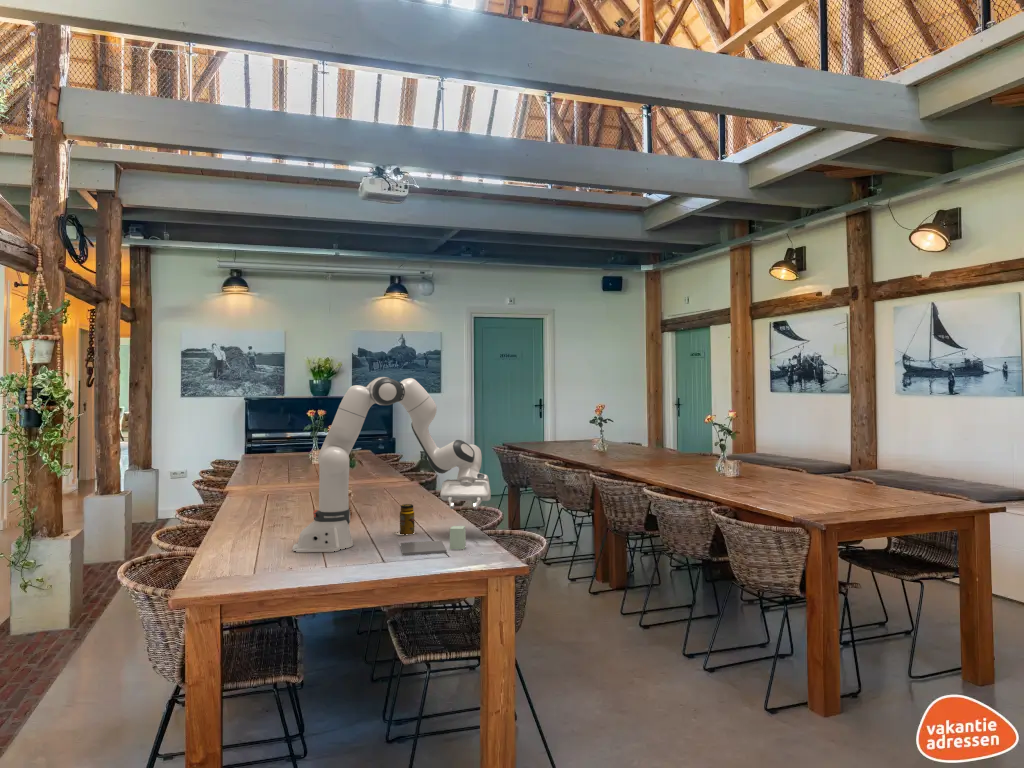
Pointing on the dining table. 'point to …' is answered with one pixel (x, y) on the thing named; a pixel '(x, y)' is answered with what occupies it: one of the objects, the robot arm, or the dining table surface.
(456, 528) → the block
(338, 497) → the robot arm
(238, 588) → the dining table surface
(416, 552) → the board
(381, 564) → the dining table surface
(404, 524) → the condiment
